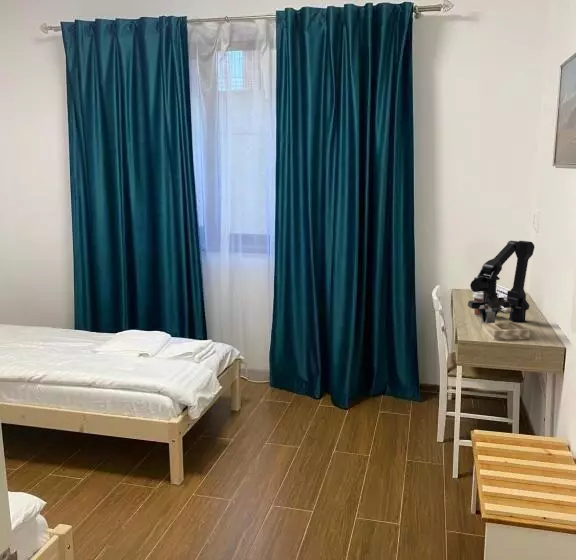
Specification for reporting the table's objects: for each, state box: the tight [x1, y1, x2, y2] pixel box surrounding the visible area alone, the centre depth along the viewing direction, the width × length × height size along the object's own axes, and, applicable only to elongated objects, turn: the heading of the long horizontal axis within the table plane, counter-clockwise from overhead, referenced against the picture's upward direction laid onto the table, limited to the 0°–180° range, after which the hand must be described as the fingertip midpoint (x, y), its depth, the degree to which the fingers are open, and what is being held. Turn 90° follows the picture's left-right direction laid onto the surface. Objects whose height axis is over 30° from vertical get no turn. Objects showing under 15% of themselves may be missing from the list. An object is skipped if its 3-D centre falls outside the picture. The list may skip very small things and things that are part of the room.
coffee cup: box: [472, 292, 489, 318], centre depth 312 cm, size 9×9×12 cm
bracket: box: [481, 308, 496, 324], centre depth 290 cm, size 4×8×7 cm, turn 4°
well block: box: [481, 321, 531, 341], centre depth 276 cm, size 16×14×4 cm
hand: (488, 321), depth 291 cm, fingers closed on bracket, 4 cm apart
